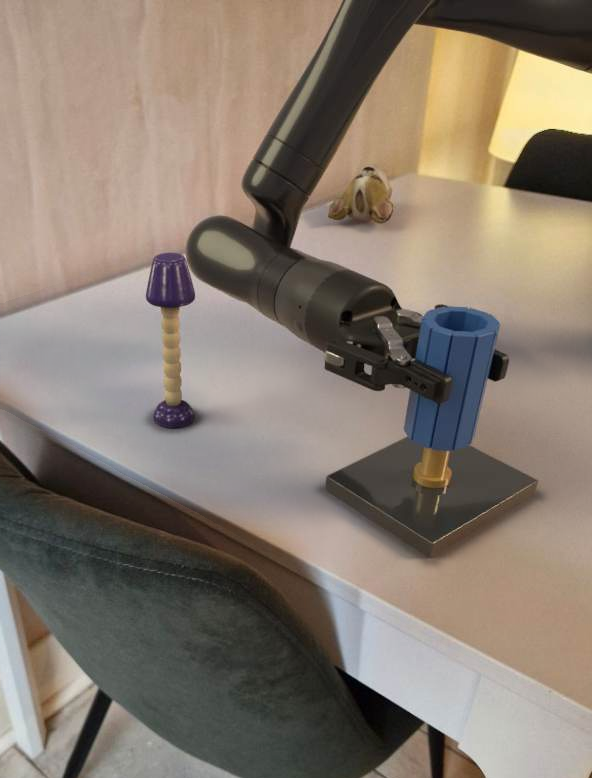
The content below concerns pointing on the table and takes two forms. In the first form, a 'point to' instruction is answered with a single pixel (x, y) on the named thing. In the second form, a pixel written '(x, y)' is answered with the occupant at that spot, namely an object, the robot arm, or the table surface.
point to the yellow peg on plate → (430, 491)
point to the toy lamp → (171, 332)
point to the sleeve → (452, 376)
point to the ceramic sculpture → (365, 198)
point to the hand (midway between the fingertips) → (476, 380)
